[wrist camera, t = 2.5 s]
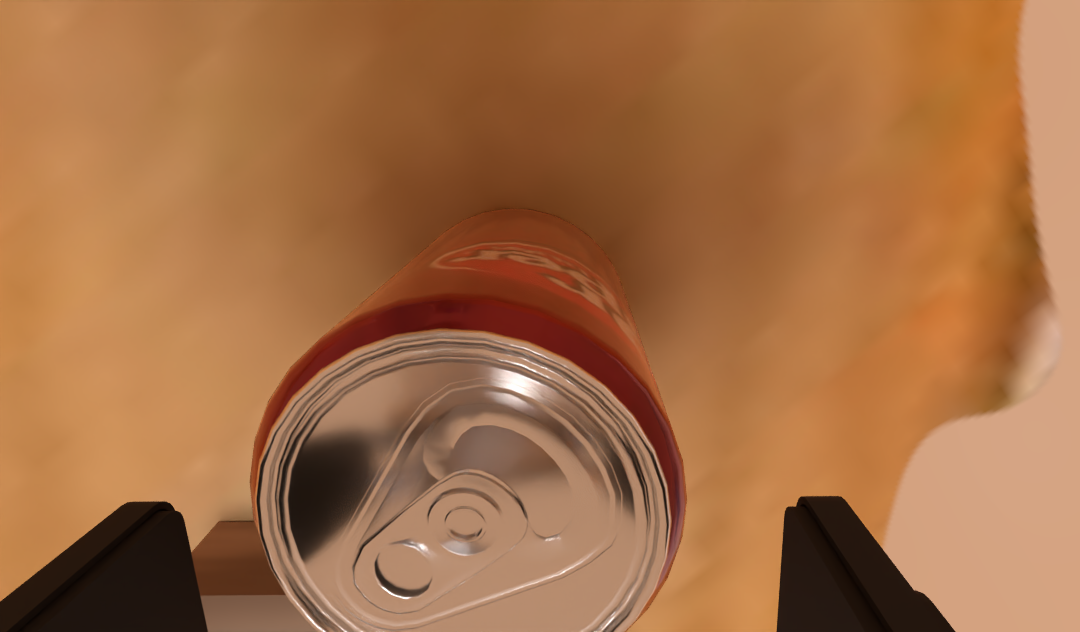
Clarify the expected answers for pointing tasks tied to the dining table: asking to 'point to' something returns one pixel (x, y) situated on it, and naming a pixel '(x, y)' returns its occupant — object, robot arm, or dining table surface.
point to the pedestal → (241, 583)
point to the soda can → (475, 447)
